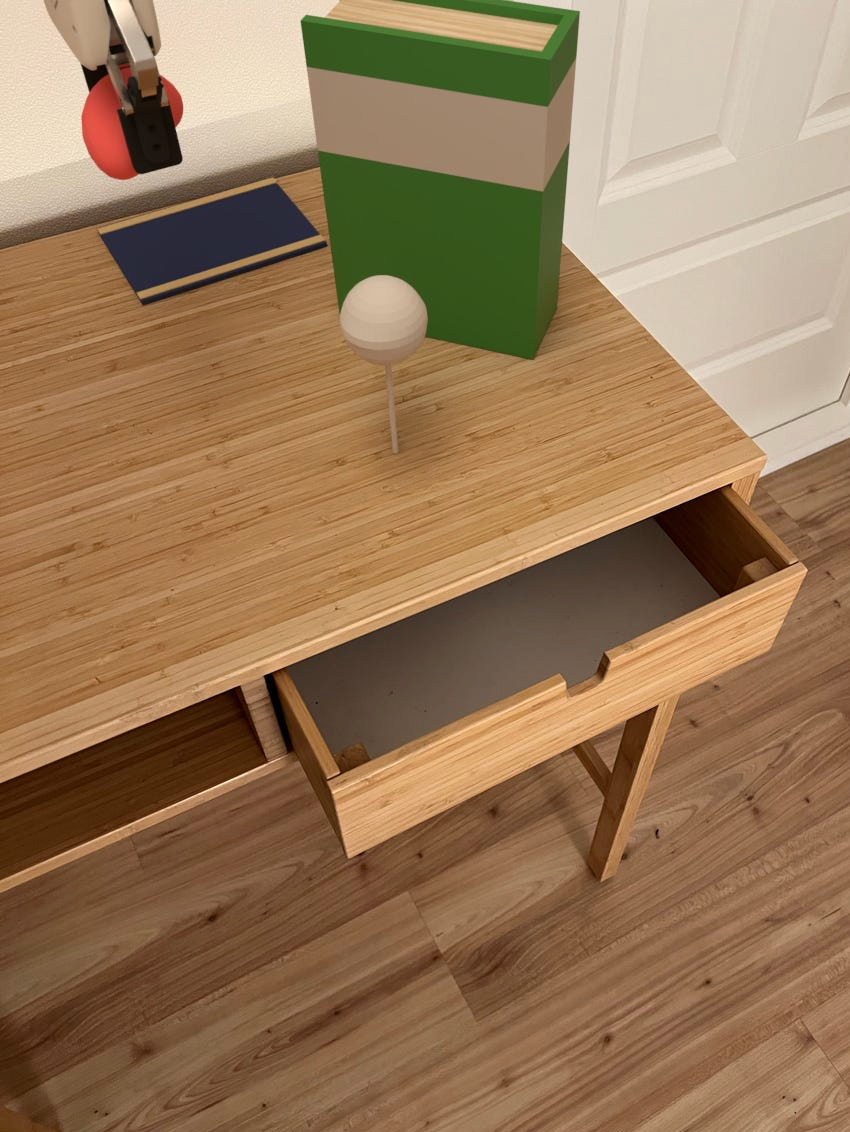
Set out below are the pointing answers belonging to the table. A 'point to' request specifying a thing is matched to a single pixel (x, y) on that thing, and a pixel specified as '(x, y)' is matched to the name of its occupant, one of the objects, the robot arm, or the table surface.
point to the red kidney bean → (115, 126)
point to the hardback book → (448, 156)
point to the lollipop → (384, 327)
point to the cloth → (209, 239)
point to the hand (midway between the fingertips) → (137, 135)
